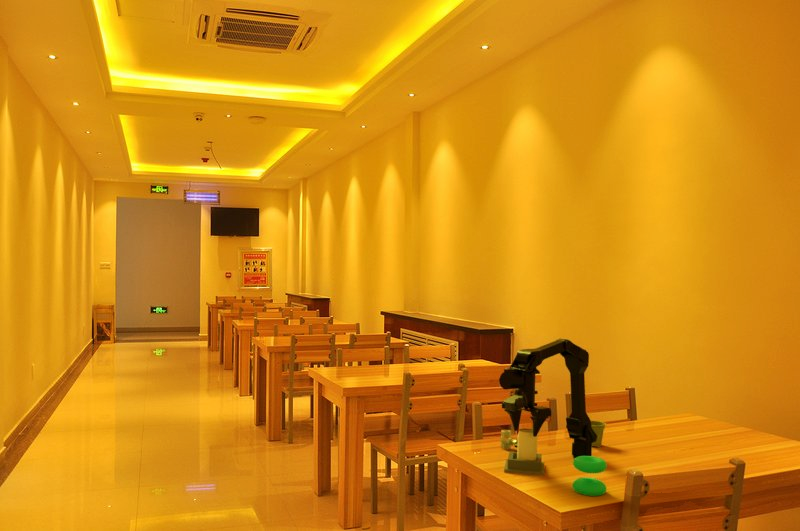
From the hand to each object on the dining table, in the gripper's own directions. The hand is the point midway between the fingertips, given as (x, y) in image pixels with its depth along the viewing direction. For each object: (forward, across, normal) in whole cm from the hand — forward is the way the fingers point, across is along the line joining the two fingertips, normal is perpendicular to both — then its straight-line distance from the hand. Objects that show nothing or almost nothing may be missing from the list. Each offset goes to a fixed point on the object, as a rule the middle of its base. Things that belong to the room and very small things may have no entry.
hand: (525, 433), depth 234 cm
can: (+11, 0, 0) cm, 11 cm away
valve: (+12, -20, +13) cm, 27 cm away
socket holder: (+12, 0, 0) cm, 12 cm away
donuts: (+12, +28, 0) cm, 31 cm away
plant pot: (+12, -12, +48) cm, 50 cm away
